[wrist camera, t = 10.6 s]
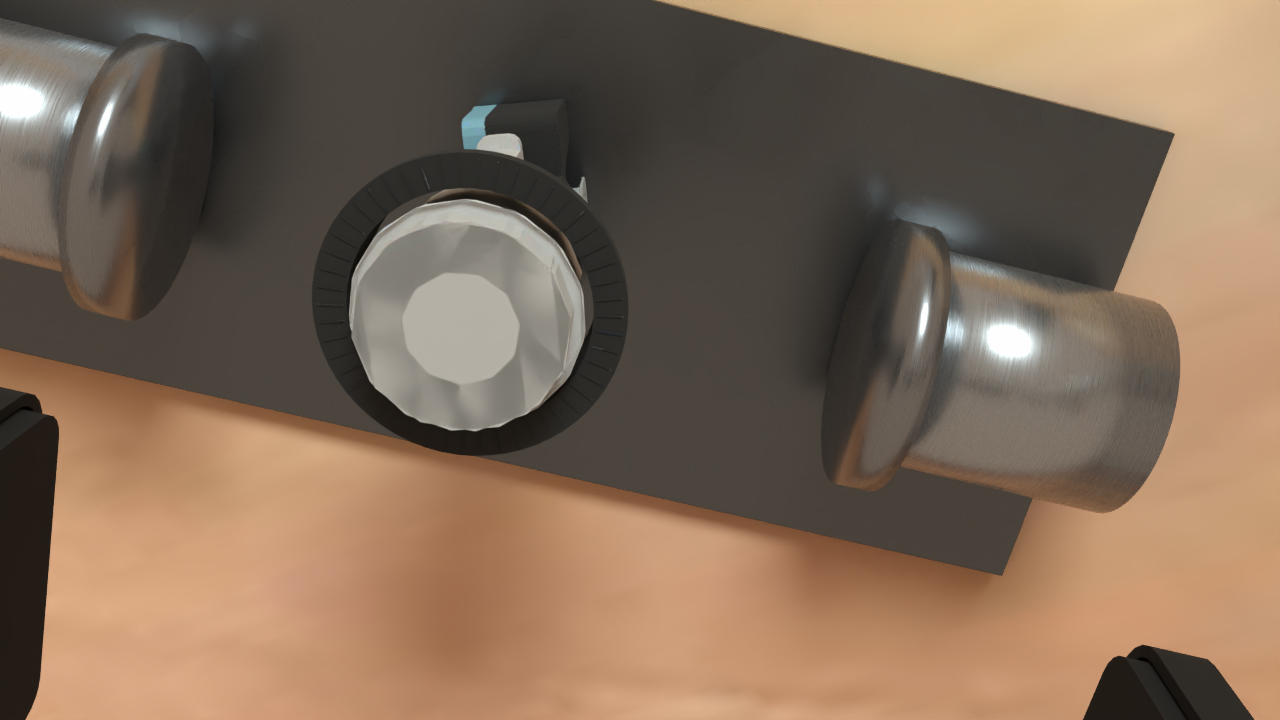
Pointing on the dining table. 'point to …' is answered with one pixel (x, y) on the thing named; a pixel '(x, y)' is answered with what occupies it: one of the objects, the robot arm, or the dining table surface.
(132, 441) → the dining table surface
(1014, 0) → the dining table surface
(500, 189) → the push button
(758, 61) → the plate with silver knobs
